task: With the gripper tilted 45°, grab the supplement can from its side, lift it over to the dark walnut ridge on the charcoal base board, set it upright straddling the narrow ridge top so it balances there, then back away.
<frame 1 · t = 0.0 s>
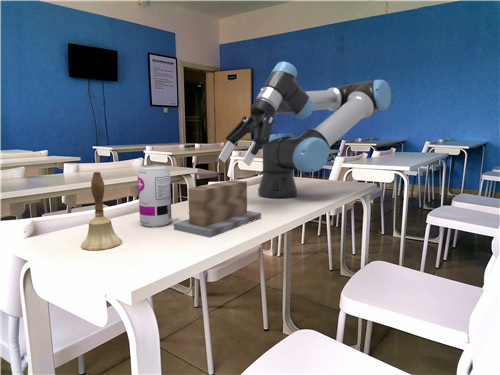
hand: (233, 161, 106), 15 cm above the table, tool tilted 35°, fingers open, 13 cm apart
hand bell: (101, 245, 76), on the table
supplement can: (156, 224, 94), on the table
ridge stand: (220, 223, 93), on the table
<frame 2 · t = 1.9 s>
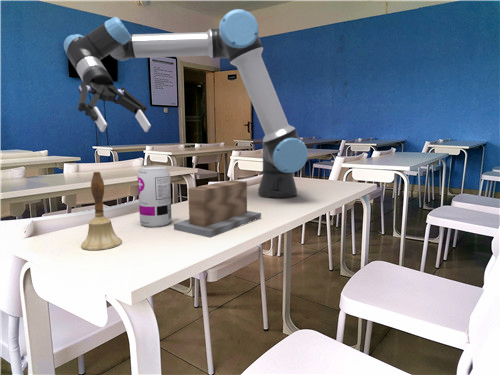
hand: (127, 128, 96), 25 cm above the table, tool tilted 45°, fingers open, 13 cm apart
nothing on the table moved.
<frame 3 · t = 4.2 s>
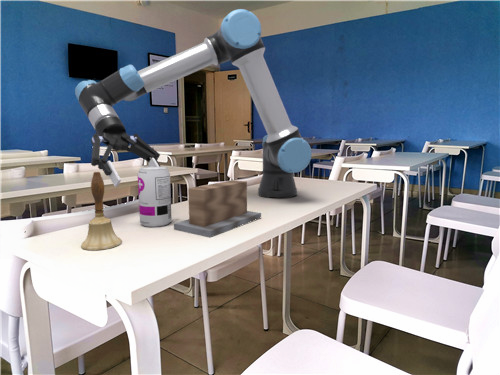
hand: (141, 180, 94), 11 cm above the table, tool tilted 45°, fingers open, 13 cm apart
nothing on the table moved.
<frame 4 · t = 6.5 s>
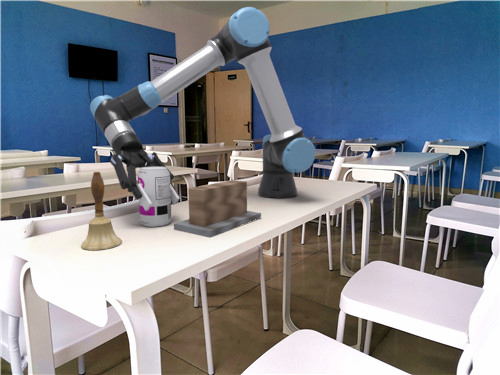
hand: (163, 204, 91), 6 cm above the table, tool tilted 45°, fingers closed on supplement can, 8 cm apart
supplement can: (156, 224, 94), on the table, touching gripper
everything else where it was.
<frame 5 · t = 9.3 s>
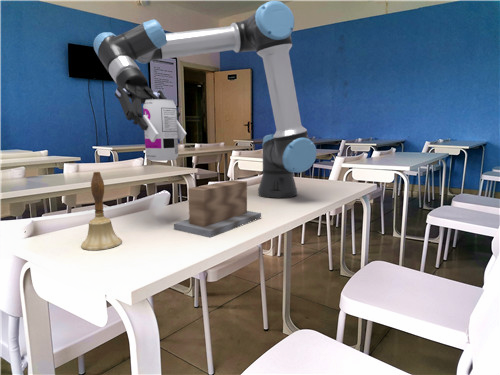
hand: (169, 137, 88), 23 cm above the table, tool tilted 45°, fingers closed on supplement can, 8 cm apart
supplement can: (162, 160, 91), point 17 cm above the table, touching gripper
everything else where it was.
when the fingers open (17 cm above the table, at t = 12.6 s): supplement can stays where it is, resting on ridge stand.
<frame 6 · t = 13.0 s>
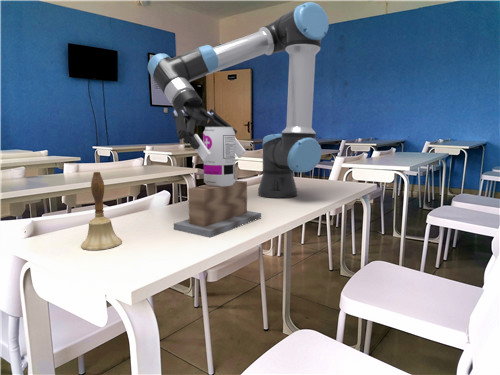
hand: (225, 156, 89), 18 cm above the table, tool tilted 45°, fingers open, 13 cm apart
supplement can: (219, 185, 92), point 10 cm above the table, touching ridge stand
everything else where it was.
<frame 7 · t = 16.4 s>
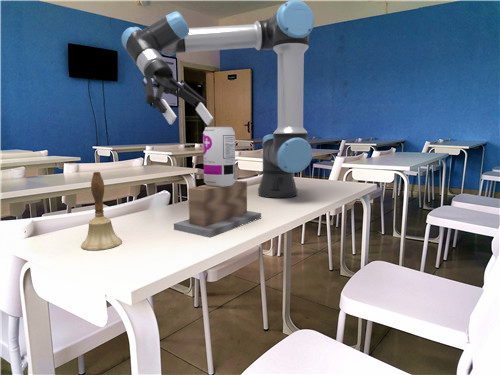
hand: (192, 121, 95), 27 cm above the table, tool tilted 45°, fingers open, 13 cm apart
nothing on the table moved.
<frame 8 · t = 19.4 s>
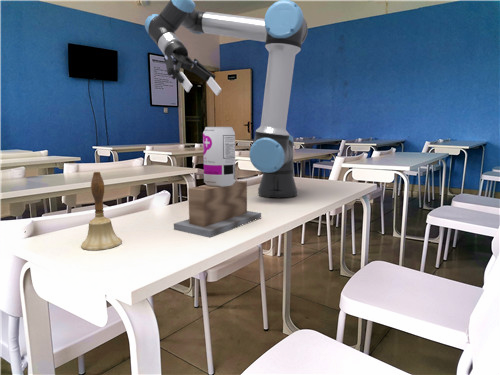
hand: (205, 90, 115), 38 cm above the table, tool tilted 45°, fingers open, 13 cm apart
nothing on the table moved.
at the end: supplement can inside the target area on the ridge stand (0.1 cm from its centre), point 10.3 cm above the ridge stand's base; supplement can tilted 0°; the gripper is holding nothing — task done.
